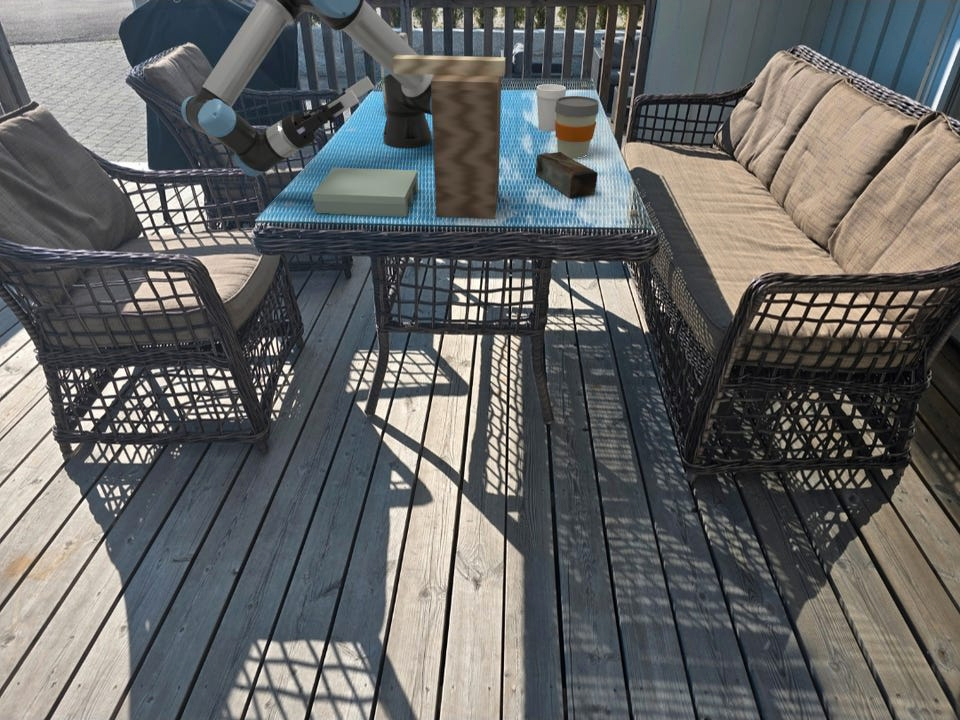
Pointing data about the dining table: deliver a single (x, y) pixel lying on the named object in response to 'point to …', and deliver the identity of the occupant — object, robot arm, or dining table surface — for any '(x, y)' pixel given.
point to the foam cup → (548, 104)
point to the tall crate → (466, 144)
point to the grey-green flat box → (366, 192)
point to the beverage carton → (566, 174)
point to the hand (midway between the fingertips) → (363, 88)
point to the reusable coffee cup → (575, 124)
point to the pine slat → (449, 65)
